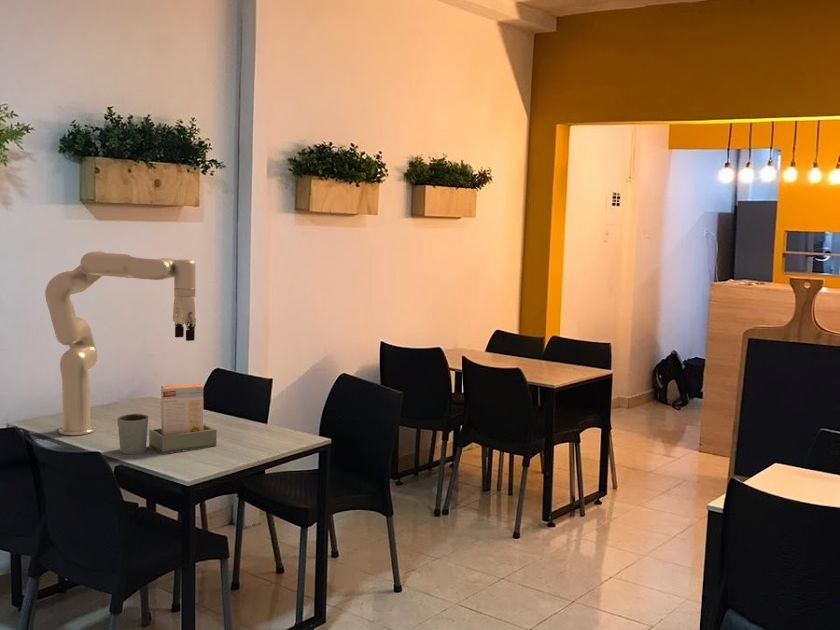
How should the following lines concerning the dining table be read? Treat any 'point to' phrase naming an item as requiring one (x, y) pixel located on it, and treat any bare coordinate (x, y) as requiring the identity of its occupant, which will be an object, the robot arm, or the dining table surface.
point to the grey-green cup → (133, 433)
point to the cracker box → (181, 409)
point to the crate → (182, 440)
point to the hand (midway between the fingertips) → (184, 338)
